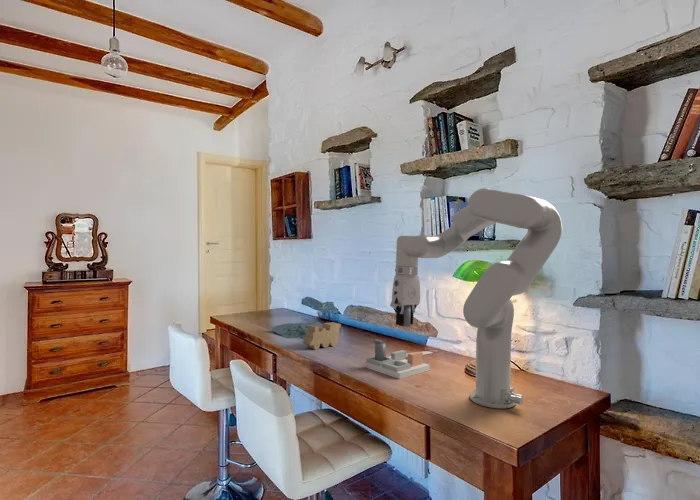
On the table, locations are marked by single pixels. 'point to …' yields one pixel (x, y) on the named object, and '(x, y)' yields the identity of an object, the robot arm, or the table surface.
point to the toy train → (322, 335)
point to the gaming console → (426, 352)
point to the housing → (393, 363)
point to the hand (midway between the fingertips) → (404, 323)
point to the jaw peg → (406, 315)
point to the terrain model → (294, 329)
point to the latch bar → (415, 358)
